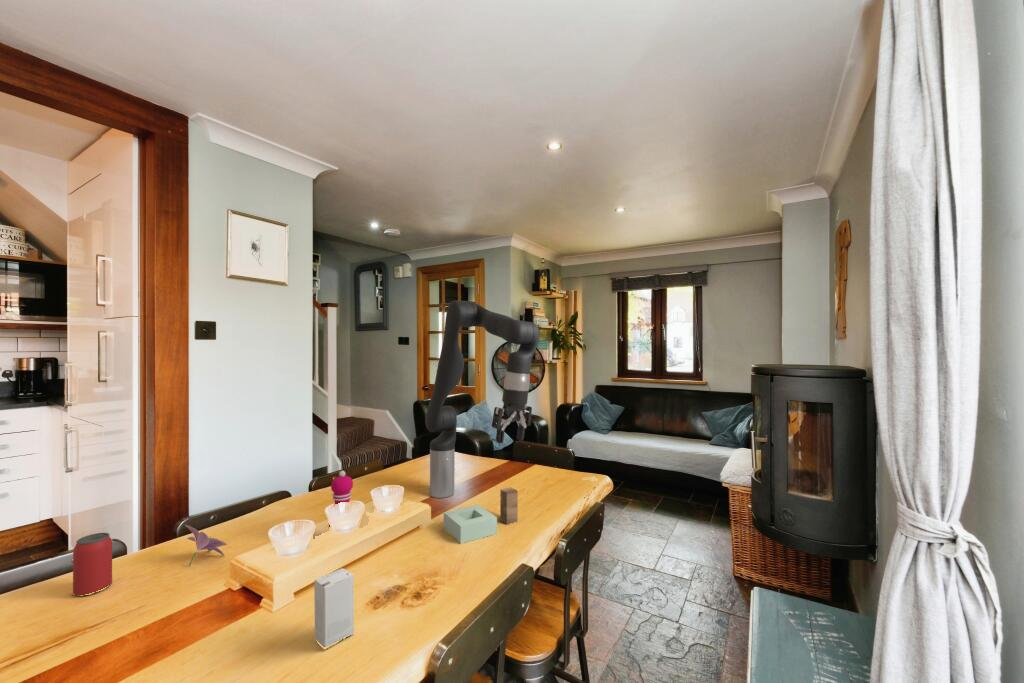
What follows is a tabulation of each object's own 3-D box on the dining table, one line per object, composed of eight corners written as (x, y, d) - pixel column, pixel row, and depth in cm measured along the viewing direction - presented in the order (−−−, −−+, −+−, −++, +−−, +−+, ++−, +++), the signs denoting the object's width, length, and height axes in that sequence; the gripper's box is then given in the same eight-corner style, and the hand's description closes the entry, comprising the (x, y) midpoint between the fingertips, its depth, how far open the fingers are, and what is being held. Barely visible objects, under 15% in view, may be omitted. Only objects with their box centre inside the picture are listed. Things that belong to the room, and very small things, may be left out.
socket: (443, 528, 133) (443, 512, 133) (478, 520, 140) (478, 504, 140) (460, 543, 123) (460, 526, 123) (496, 533, 130) (497, 517, 130)
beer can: (118, 584, 102) (119, 533, 102) (83, 600, 96) (84, 546, 96) (101, 579, 104) (101, 529, 104) (65, 594, 98) (66, 541, 98)
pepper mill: (359, 534, 129) (359, 467, 129) (347, 545, 122) (348, 474, 122) (336, 533, 130) (336, 466, 130) (323, 544, 123) (323, 474, 123)
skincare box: (343, 626, 87) (343, 565, 87) (354, 635, 84) (355, 573, 84) (312, 642, 82) (313, 578, 83) (324, 653, 80) (324, 587, 80)
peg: (500, 520, 140) (500, 489, 140) (510, 517, 142) (510, 487, 142) (506, 524, 136) (506, 493, 136) (517, 522, 138) (517, 490, 138)
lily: (226, 570, 111) (240, 529, 116) (172, 566, 104) (190, 523, 109) (213, 569, 118) (226, 531, 123) (162, 565, 111) (179, 525, 116)
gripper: (523, 385, 137) (517, 436, 137) (490, 385, 126) (483, 440, 127) (541, 389, 131) (534, 442, 132) (508, 390, 121) (501, 447, 121)
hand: (509, 441), depth 129 cm, fingers open, 8 cm apart
